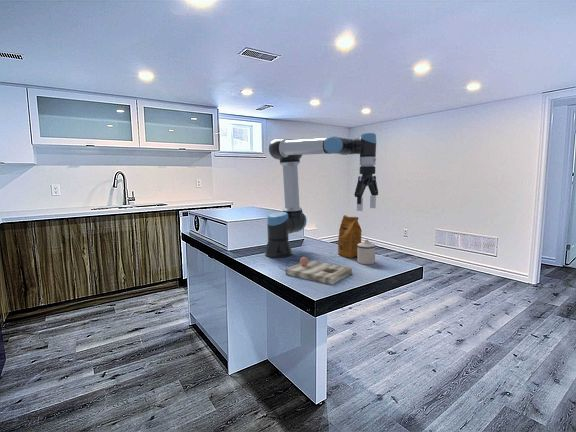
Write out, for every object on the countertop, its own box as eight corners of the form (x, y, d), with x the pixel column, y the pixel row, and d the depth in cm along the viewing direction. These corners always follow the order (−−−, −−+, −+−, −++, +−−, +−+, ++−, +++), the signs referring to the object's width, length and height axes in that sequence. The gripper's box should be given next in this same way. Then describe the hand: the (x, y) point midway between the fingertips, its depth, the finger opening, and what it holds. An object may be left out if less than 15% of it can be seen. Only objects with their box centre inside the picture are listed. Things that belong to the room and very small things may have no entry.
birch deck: (285, 274, 144) (285, 268, 144) (307, 264, 158) (307, 259, 158) (332, 284, 130) (332, 278, 129) (351, 273, 144) (351, 267, 144)
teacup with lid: (379, 263, 159) (379, 240, 157) (363, 265, 155) (364, 242, 154) (365, 257, 170) (365, 236, 168) (350, 259, 166) (350, 237, 165)
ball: (298, 265, 148) (298, 257, 148) (302, 263, 151) (302, 255, 151) (305, 267, 146) (305, 258, 145) (310, 265, 149) (309, 256, 148)
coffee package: (349, 251, 183) (349, 213, 180) (363, 256, 172) (364, 216, 169) (335, 254, 178) (335, 215, 175) (349, 259, 167) (349, 217, 164)
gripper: (362, 165, 142) (361, 212, 145) (385, 165, 161) (384, 207, 164) (347, 166, 147) (346, 211, 150) (372, 166, 166) (371, 206, 169)
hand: (366, 209), depth 157 cm, fingers open, 13 cm apart
